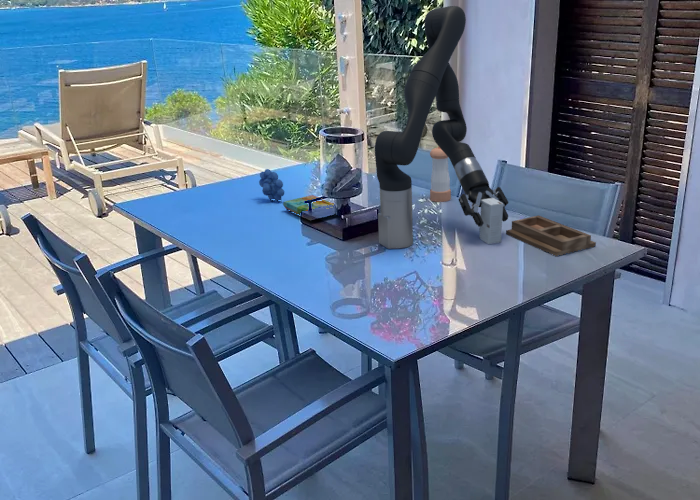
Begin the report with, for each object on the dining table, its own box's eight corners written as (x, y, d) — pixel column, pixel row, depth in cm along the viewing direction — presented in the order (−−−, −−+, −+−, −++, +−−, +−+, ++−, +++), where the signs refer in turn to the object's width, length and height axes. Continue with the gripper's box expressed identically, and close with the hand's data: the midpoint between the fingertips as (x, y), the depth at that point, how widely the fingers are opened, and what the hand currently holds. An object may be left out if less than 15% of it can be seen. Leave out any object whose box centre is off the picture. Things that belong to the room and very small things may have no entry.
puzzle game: (311, 192, 244) (342, 204, 229) (312, 205, 246) (343, 218, 230) (282, 199, 239) (312, 211, 223) (283, 212, 240) (313, 225, 224)
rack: (556, 256, 187) (556, 243, 185) (506, 234, 206) (506, 222, 204) (595, 246, 192) (596, 234, 191) (543, 225, 211) (543, 214, 210)
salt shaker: (426, 198, 245) (425, 145, 239) (443, 195, 248) (443, 142, 241) (437, 203, 239) (436, 149, 232) (454, 199, 242) (454, 146, 235)
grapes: (253, 202, 253) (249, 170, 249) (266, 197, 258) (262, 166, 254) (276, 206, 246) (273, 173, 242) (289, 201, 251) (286, 169, 247)
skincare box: (478, 238, 203) (479, 199, 199) (492, 236, 205) (493, 197, 200) (488, 245, 198) (489, 204, 194) (502, 242, 199) (503, 202, 195)
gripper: (455, 172, 198) (478, 221, 192) (496, 165, 203) (519, 211, 198) (445, 186, 204) (467, 233, 199) (485, 179, 210) (507, 224, 204)
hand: (493, 222), depth 198 cm, fingers open, 8 cm apart
